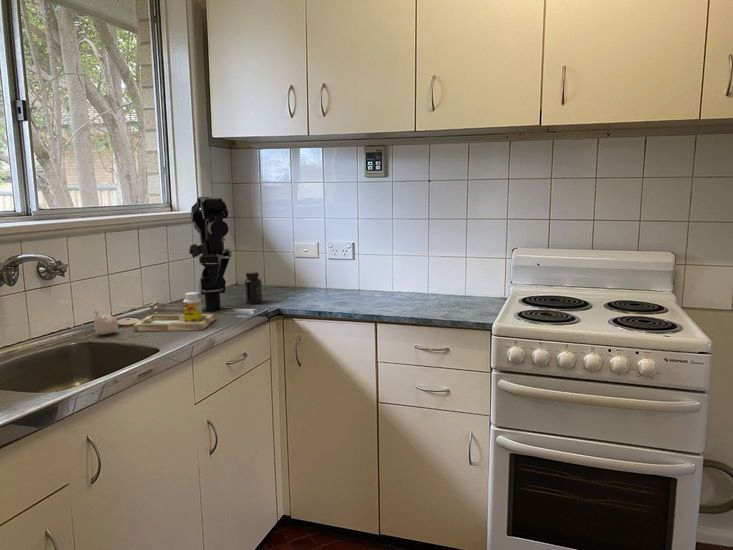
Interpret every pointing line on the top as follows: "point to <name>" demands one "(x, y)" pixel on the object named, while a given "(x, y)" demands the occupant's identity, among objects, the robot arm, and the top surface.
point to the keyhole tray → (171, 323)
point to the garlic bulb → (105, 324)
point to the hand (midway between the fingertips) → (217, 280)
